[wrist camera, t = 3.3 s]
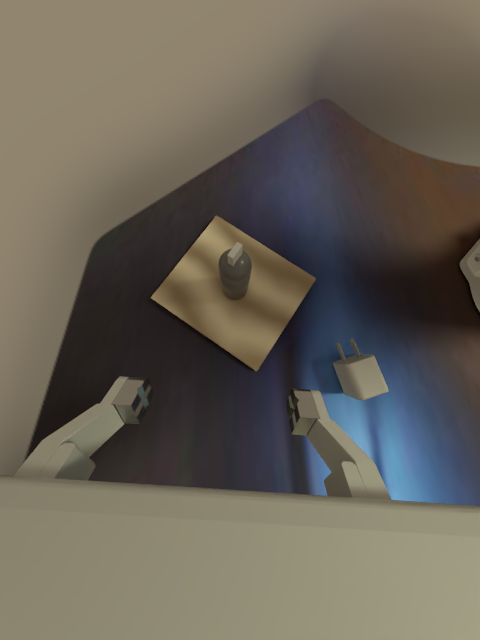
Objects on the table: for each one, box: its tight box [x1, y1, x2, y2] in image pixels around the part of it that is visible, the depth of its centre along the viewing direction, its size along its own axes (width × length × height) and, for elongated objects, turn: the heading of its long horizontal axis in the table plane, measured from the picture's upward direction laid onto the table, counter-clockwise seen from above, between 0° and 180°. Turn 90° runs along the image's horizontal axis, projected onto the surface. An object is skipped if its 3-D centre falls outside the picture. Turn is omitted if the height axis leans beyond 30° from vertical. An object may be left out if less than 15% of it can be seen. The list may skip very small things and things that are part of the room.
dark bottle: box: [218, 242, 252, 300], centre depth 22 cm, size 4×4×10 cm
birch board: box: [151, 216, 316, 371], centre depth 27 cm, size 16×18×1 cm
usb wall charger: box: [333, 338, 389, 400], centre depth 25 cm, size 4×7×4 cm, turn 17°
